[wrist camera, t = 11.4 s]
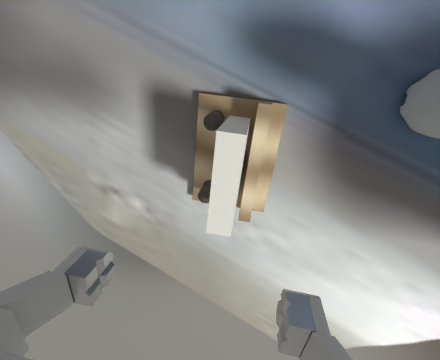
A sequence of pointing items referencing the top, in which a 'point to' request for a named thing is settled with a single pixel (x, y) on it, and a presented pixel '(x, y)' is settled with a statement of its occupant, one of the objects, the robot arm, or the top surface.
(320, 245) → the top surface
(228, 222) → the white rectangular block
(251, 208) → the tan pegged board
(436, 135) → the bottle
